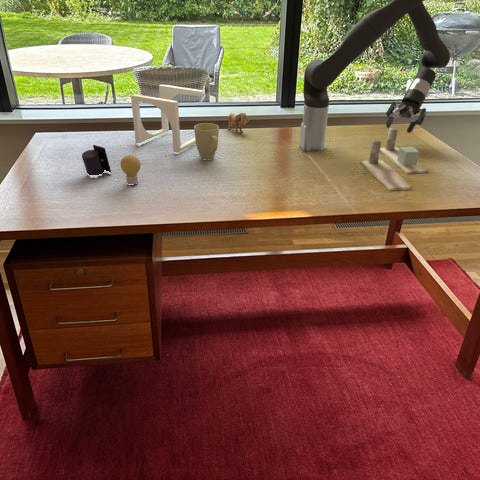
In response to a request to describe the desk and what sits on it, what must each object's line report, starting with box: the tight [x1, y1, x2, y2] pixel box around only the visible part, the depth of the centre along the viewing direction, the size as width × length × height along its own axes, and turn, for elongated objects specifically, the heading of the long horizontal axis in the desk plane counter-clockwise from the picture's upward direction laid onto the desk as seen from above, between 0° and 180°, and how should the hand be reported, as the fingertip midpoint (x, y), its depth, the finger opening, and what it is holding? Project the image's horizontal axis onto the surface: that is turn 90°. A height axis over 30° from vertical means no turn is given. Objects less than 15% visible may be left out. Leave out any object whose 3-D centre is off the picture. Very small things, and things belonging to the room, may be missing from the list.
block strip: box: [380, 127, 429, 175], centre depth 179 cm, size 8×24×9 cm, turn 10°
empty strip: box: [360, 139, 413, 192], centre depth 167 cm, size 8×24×9 cm, turn 10°
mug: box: [193, 122, 220, 161], centre depth 180 cm, size 11×10×12 cm
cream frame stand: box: [130, 84, 205, 153], centre depth 193 cm, size 20×20×20 cm
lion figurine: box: [225, 112, 250, 135], centre depth 210 cm, size 15×5×9 cm, turn 39°
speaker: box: [81, 144, 112, 175], centre depth 167 cm, size 8×6×10 cm
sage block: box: [397, 146, 420, 166], centre depth 176 cm, size 5×5×5 cm
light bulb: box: [120, 154, 142, 185], centre depth 160 cm, size 6×6×10 cm
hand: (397, 129), depth 188 cm, fingers open, 8 cm apart
